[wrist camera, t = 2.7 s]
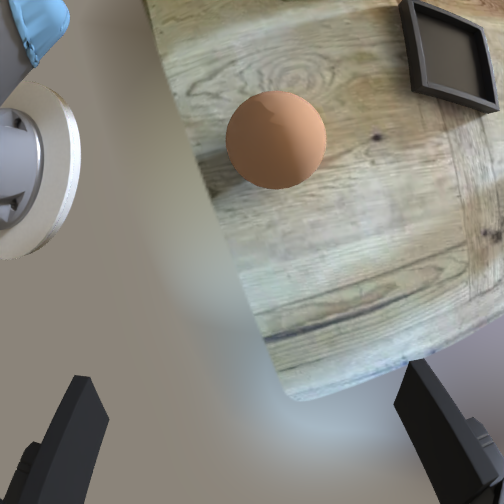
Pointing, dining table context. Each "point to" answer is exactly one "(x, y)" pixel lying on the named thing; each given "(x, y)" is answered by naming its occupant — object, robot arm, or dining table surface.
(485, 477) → the robot arm
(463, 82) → the dark square tray
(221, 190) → the dining table surface
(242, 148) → the egg
